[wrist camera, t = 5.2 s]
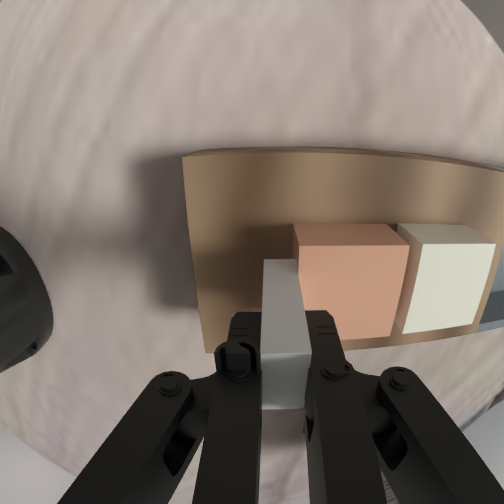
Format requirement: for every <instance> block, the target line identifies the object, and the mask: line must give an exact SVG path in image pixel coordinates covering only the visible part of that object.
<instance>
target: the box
mask: <svg viewBox="0 0 504 504" xmlns="http://www.w3.org/2000/svg"><path fill="white" fill-rule="evenodd" d="M475 163H476V162H475ZM478 164H481V163H478ZM482 165H485V166H489V167H492V168H495V169H498V170H502V171H504V168H501V167H496V166H491V165H486V164H482ZM500 327H504V243H503V248H502V252H501V256H500V260H499V264H498V267H497V271H496V275H495V278H494V281H493V285H492V288H491V291H490V294H489V297H488V300H487V303H486V306H485V309H484V312H483V314H482V317H481V320H480V322H479V325H478V327H477V330H476V332H475V333H477V332H482V331H486V330H491V329H495V328H500Z"/></svg>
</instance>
